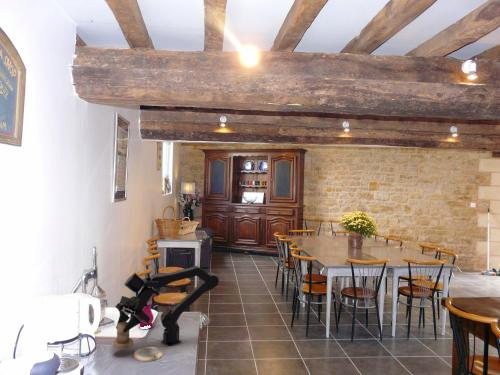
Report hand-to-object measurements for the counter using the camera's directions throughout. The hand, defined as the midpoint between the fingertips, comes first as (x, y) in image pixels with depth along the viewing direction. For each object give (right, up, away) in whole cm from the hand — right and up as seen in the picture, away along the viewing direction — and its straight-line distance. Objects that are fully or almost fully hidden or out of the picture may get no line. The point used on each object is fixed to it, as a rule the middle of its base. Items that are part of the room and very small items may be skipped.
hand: (120, 330), depth 173 cm
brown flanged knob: (+1, -7, +1) cm, 7 cm away
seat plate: (+12, -10, 0) cm, 16 cm away
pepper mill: (+3, -10, +32) cm, 33 cm away
